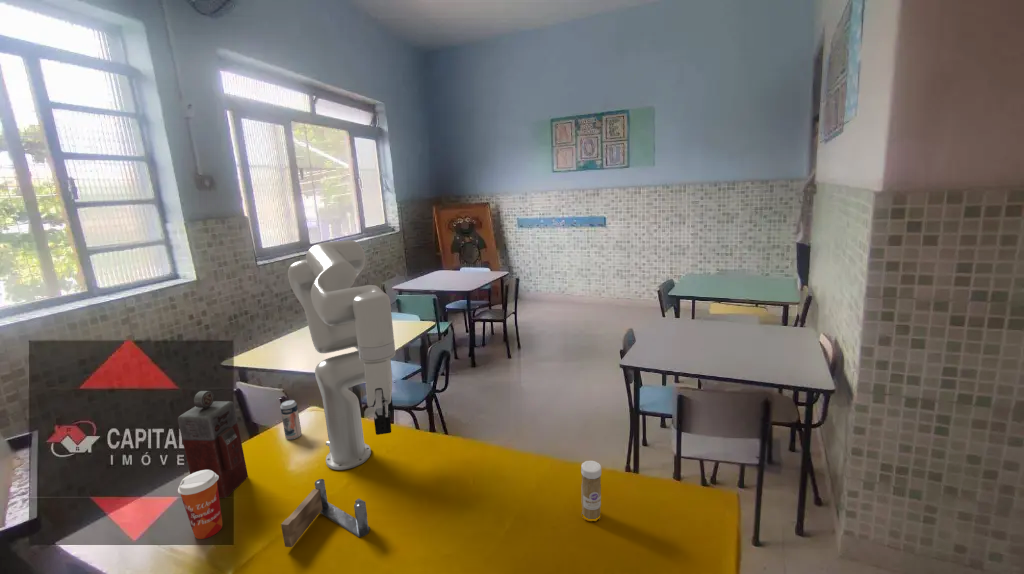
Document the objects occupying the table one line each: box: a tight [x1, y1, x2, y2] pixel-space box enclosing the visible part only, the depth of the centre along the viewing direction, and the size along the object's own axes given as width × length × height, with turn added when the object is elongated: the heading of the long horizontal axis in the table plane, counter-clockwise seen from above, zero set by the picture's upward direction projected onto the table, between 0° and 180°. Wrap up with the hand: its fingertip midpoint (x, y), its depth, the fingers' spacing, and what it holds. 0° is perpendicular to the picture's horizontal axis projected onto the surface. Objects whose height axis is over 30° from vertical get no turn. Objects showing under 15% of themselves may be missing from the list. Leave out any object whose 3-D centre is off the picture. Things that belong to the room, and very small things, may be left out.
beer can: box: [279, 399, 302, 441], centre depth 144 cm, size 5×5×12 cm
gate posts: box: [314, 478, 371, 538], centre depth 107 cm, size 18×4×8 cm, turn 56°
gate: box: [280, 488, 323, 548], centre depth 104 cm, size 12×2×6 cm, turn 171°
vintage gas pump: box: [177, 390, 249, 499], centre depth 119 cm, size 9×11×28 cm
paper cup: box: [177, 470, 223, 540], centre depth 105 cm, size 8×8×14 cm
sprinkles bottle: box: [580, 460, 602, 519], centre depth 104 cm, size 5×5×14 cm
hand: (384, 421), depth 100 cm, fingers open, 9 cm apart
